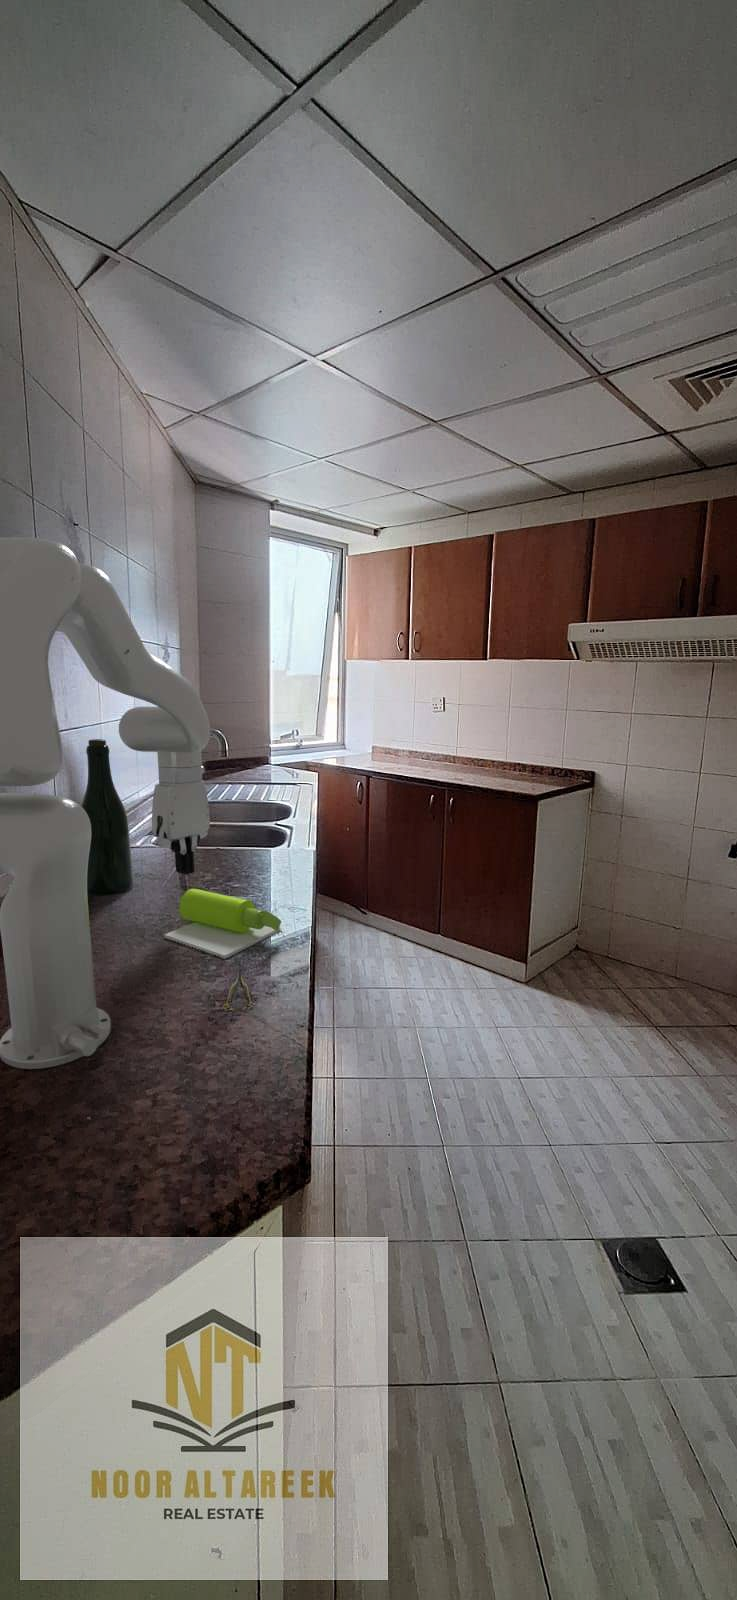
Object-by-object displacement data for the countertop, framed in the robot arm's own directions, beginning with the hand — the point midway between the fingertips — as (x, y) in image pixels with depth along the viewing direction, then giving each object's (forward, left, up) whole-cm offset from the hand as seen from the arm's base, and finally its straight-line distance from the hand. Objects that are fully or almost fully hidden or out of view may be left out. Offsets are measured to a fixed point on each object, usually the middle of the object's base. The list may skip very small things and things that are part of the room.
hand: (185, 872), depth 111 cm
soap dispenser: (0, 0, -6) cm, 6 cm away
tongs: (-26, +13, -11) cm, 31 cm away
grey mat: (-9, 0, -10) cm, 14 cm away
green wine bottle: (+29, -3, -10) cm, 31 cm away
